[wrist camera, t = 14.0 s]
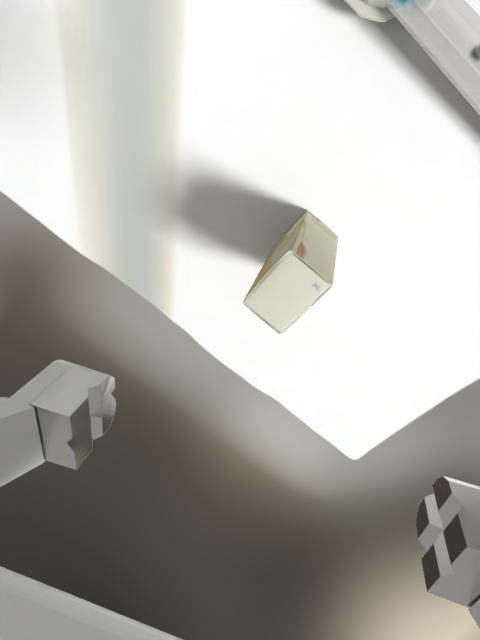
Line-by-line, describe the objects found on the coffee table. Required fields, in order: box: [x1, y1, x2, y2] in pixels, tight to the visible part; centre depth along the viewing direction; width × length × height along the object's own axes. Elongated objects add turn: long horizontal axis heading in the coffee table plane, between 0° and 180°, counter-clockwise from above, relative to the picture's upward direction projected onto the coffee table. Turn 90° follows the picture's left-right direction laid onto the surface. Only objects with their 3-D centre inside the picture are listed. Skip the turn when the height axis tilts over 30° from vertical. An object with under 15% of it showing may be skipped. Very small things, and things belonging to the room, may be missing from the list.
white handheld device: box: [344, 0, 480, 116], centre depth 27 cm, size 5×7×25 cm
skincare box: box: [243, 211, 338, 334], centre depth 33 cm, size 6×4×12 cm
